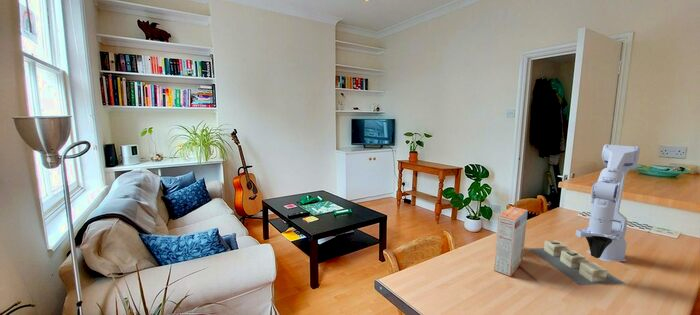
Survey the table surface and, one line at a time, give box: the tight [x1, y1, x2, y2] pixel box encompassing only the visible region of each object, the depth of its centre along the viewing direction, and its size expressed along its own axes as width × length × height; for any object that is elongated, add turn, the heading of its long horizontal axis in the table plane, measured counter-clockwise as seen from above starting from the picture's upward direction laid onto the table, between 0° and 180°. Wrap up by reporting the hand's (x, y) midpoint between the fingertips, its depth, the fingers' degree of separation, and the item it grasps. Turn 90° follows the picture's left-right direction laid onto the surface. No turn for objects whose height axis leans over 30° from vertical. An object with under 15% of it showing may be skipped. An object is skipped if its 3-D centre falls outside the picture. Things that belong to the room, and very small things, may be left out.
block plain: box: [579, 261, 608, 282], centre depth 99 cm, size 5×5×4 cm
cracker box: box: [493, 206, 528, 277], centre depth 105 cm, size 14×6×21 cm, turn 134°
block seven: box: [560, 250, 586, 268], centre depth 107 cm, size 5×5×4 cm
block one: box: [543, 239, 567, 256], centre depth 115 cm, size 5×5×4 cm
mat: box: [528, 247, 626, 286], centre depth 107 cm, size 16×25×1 cm, turn 4°
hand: (595, 256), depth 98 cm, fingers closed
